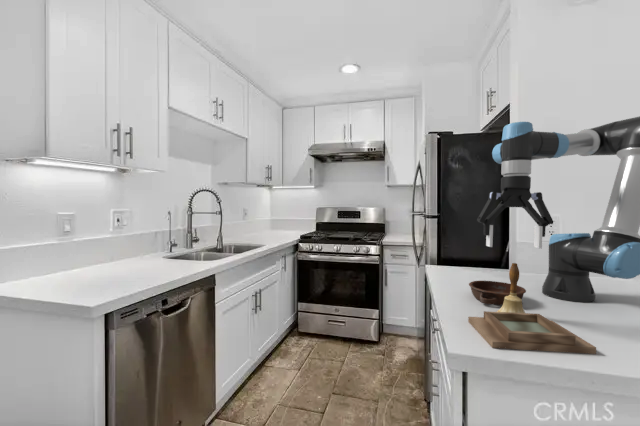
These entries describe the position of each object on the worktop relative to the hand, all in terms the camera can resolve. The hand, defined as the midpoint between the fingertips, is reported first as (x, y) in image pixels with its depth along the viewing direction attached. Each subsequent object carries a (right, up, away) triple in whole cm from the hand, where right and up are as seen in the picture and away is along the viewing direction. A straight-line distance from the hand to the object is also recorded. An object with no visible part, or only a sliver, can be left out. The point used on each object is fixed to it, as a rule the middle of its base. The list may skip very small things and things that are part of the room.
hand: (513, 247), depth 93 cm
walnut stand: (-6, -21, -14) cm, 26 cm away
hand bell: (0, -21, +1) cm, 21 cm away
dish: (+4, -21, +16) cm, 27 cm away
